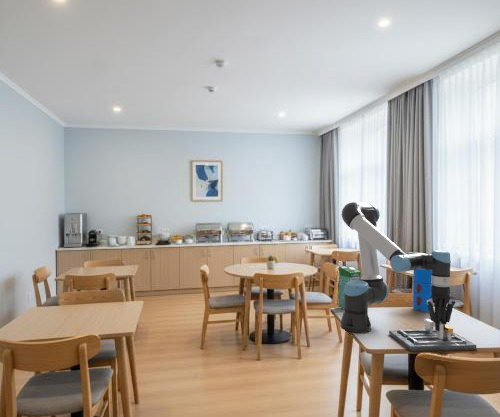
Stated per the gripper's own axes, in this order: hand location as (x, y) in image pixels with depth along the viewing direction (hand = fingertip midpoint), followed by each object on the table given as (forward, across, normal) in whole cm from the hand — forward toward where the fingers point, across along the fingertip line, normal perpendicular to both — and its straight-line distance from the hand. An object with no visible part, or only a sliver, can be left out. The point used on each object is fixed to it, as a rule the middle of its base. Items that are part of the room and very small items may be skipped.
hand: (439, 337), depth 164 cm
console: (+4, -2, +5) cm, 6 cm away
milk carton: (+3, -20, +61) cm, 64 cm away
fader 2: (+1, +3, 0) cm, 4 cm away
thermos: (+4, +24, +56) cm, 61 cm away
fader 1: (+1, +1, +9) cm, 9 cm away
